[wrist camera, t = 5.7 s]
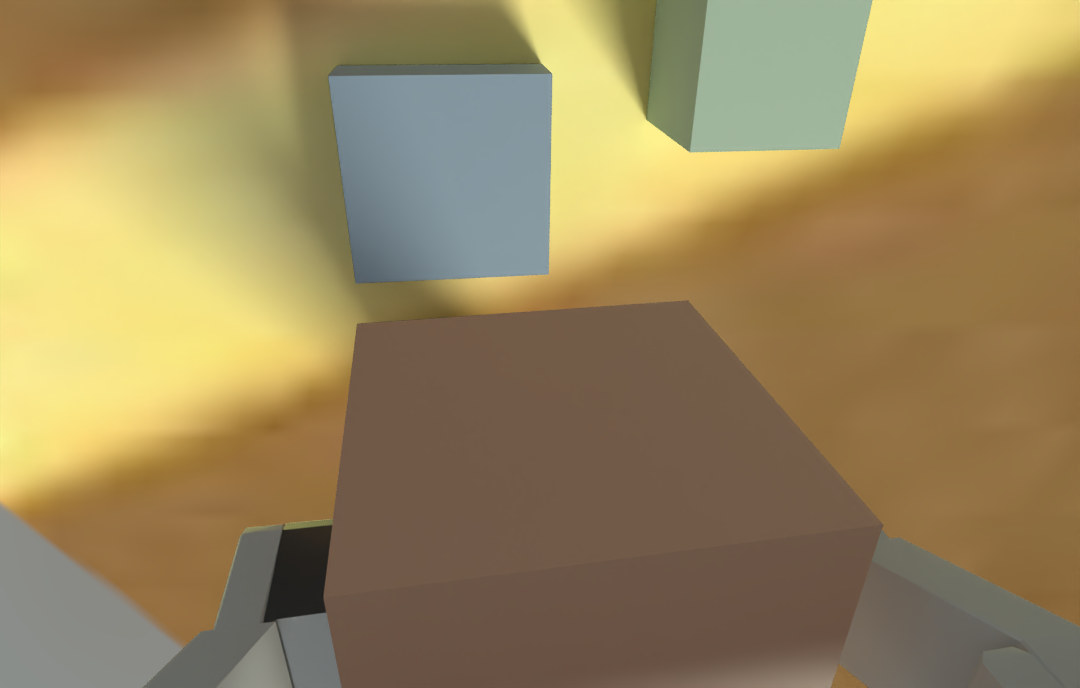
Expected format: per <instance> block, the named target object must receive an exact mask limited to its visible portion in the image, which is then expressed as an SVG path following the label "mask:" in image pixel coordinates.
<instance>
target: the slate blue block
mask: <svg viewBox="0 0 1080 688" xmlns="http://www.w3.org/2000/svg"><path fill="white" fill-rule="evenodd" d="M328 78H329V86H330V93H331V101H332V108H333V116H334V123H335V131H336V139H337V146H338V154H339V161H340V169H341V176H342V184H343V192H344V199H345V207H346V214H347V222H348V229H349V237H350V245H351V252H352V260H353V267H354V275H355V282H356V283H377V282H398V281H419V280H440V279H461V278H482V277H503V276H524V275H545V274H549V227H550V171H551V115H552V73H551V72H550V71H549V70H548V69H547V68H546V67H545V66H543V65H542V64H447V65H337V66H336V67H335V69H334V70H333V71H332V72H331V73H330V75H329V76H328Z"/></svg>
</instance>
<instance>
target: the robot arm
mask: <svg viewBox="0 0 1080 688" xmlns="http://www.w3.org/2000/svg"><path fill="white" fill-rule="evenodd" d="M332 524H333V519H329V520H318V521H307V522H296V523H287V524H286V525H271V526H260V527H249V528H246V529H245V530H244V532H243V533H242V534H241V536H240V538H239V541H238V545H237V548H236V552H235V555H234V559H233V562H232V566H231V569H230V573H229V576H228V580H227V583H226V587H225V590H224V594H223V597H222V601H221V604H220V608H219V611H218V615H217V618H216V622H215V625H214V629H213V630H208V631H202V632H200V633H199V634H197V635H196V636H195V637H194V638H193V639H192V640H191V641H190V642H189V643H188V644H187V645H186V646H185V647H184V648H183V649H182V650H181V651H180V652H179V653H178V654H177V655H176V656H175V657H174V658H173V659H172V660H171V661H170V662H169V663H167V665H165V667H163V668H162V669H161V670H160V671H159V672H158V673H157V674H156V675H155V676H154V677H153V678H152V679H151V680H150V681H149V682H148V683H147V684H146V685H145V686H144V687H143V688H341V683H340V678H339V673H338V668H337V663H336V658H335V653H334V648H333V643H332V638H331V633H330V628H329V623H328V618H327V613H326V608H325V603H324V598H323V596H324V588H325V580H326V572H327V564H328V556H329V548H330V540H331V532H332ZM838 664H840V665H841V666H842V667H844V668H845V669H846V670H847V671H849V672H850V673H851V674H852V675H854V676H855V677H856V678H857V679H859V680H860V681H861V682H863V683H864V684H865V685H866V686H868V687H869V688H1080V627H1079V626H1077V625H1075V624H1073V623H1071V622H1069V621H1067V620H1065V619H1063V618H1061V617H1059V616H1057V615H1055V614H1053V613H1051V612H1049V611H1047V610H1045V609H1043V608H1041V607H1039V606H1037V605H1035V604H1033V603H1031V602H1029V601H1027V600H1025V599H1023V598H1021V597H1019V596H1017V595H1015V594H1013V593H1011V592H1009V591H1007V590H1005V589H1003V588H1001V587H999V586H997V585H995V584H993V583H991V582H989V581H987V580H985V579H982V578H980V577H978V576H976V575H974V574H972V573H970V572H968V571H966V570H964V569H962V568H960V567H958V566H956V565H954V564H952V563H950V562H948V561H946V560H944V559H942V558H940V557H938V556H936V555H934V554H932V553H930V552H928V551H926V550H924V549H922V548H920V547H918V546H916V545H914V544H912V543H910V542H908V541H906V540H904V539H902V538H900V537H899V538H891V539H890V538H889V537H888V536H887V535H886V534H885V533H884V532H883V530H881V533H880V536H879V539H878V542H877V546H876V549H875V552H874V555H873V558H872V561H871V564H870V567H869V570H868V573H867V577H866V580H865V583H864V586H863V589H862V592H861V595H860V598H859V601H858V604H857V607H856V611H855V614H854V617H853V620H852V623H851V626H850V629H849V632H848V635H847V638H846V641H845V645H844V648H843V651H842V654H841V657H840V660H839V663H838Z"/></svg>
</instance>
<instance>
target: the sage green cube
mask: <svg viewBox="0 0 1080 688" xmlns="http://www.w3.org/2000/svg"><path fill="white" fill-rule="evenodd" d="M871 4H872V0H657V3H656V15H655V27H654V38H653V50H652V62H651V73H650V85H649V97H648V109H647V121H649V122H650V123H651V124H653V125H654V126H655V127H657V128H658V129H659V130H661V131H662V132H663V133H665V134H666V135H667V136H669V137H670V138H671V139H673V140H674V141H675V142H677V143H678V144H679V145H681V146H682V147H683V148H685V149H686V150H687V151H689V152H724V151H766V150H808V149H839V148H840V144H841V139H842V135H843V130H844V126H845V121H846V117H847V112H848V108H849V103H850V99H851V94H852V90H853V85H854V81H855V76H856V72H857V67H858V63H859V58H860V54H861V49H862V45H863V40H864V36H865V31H866V27H867V22H868V18H869V13H870V9H871Z"/></svg>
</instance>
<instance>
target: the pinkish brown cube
mask: <svg viewBox="0 0 1080 688" xmlns="http://www.w3.org/2000/svg"><path fill="white" fill-rule="evenodd" d="M882 527H883V524H882V523H881V522H880V520H879V519H878V518H877V517H876V516H875V515H874V514H873V512H872V511H871V510H870V509H869V508H868V507H867V505H866V504H865V503H864V502H863V501H862V500H861V499H860V497H859V496H858V495H857V494H856V493H855V492H854V491H853V489H852V488H851V487H850V486H849V485H848V484H847V483H846V481H845V480H844V479H843V478H842V477H841V476H840V475H839V473H838V472H837V471H836V470H835V469H834V468H833V466H832V465H831V464H830V463H829V462H828V461H827V460H826V458H825V457H824V456H823V455H822V454H821V453H820V452H819V450H818V449H817V448H816V447H815V446H814V445H813V444H812V442H811V441H810V440H809V439H808V438H807V437H806V435H805V434H804V433H803V432H802V431H801V430H800V429H799V427H798V426H797V425H796V424H795V423H794V422H793V421H792V419H791V418H790V417H789V416H788V415H787V414H786V413H785V411H784V410H783V409H782V408H781V407H780V406H779V405H778V403H777V402H776V401H775V400H774V399H773V398H772V396H771V395H770V394H769V393H768V392H767V391H766V390H765V388H764V387H763V386H762V385H761V384H760V383H759V382H758V380H757V379H756V378H755V377H754V376H753V375H752V374H751V372H750V371H749V370H748V369H747V368H746V367H745V365H744V364H743V363H742V362H741V361H740V360H739V359H738V357H737V356H736V355H735V354H734V353H733V352H732V351H731V349H730V348H729V347H728V346H727V345H726V344H725V343H724V341H723V340H722V339H721V338H720V337H719V336H718V334H717V333H716V332H715V331H714V330H713V329H712V328H711V326H710V325H709V324H708V323H707V322H706V321H705V320H704V318H703V317H702V316H701V315H700V314H699V313H698V312H697V310H696V309H695V308H694V307H693V306H692V305H691V304H690V302H689V301H674V302H659V303H645V304H631V305H617V306H602V307H588V308H574V309H560V310H545V311H531V312H517V313H502V314H488V315H474V316H460V317H445V318H431V319H417V320H403V321H388V322H374V323H360V324H357V330H356V338H355V346H354V354H353V362H352V370H351V378H350V386H349V394H348V402H347V411H346V419H345V427H344V435H343V443H342V451H341V459H340V467H339V475H338V483H337V491H336V499H335V508H334V516H333V524H332V532H331V540H330V548H329V556H328V564H327V572H326V580H325V588H324V596H323V598H324V603H325V608H326V613H327V618H328V623H329V628H330V633H331V638H332V643H333V648H334V653H335V658H336V663H337V668H338V673H339V678H340V683H341V688H831V685H832V682H833V679H834V675H835V672H836V669H837V666H838V663H839V660H840V657H841V654H842V651H843V648H844V645H845V641H846V638H847V635H848V632H849V629H850V626H851V623H852V620H853V617H854V614H855V611H856V607H857V604H858V601H859V598H860V595H861V592H862V589H863V586H864V583H865V580H866V577H867V573H868V570H869V567H870V564H871V561H872V558H873V555H874V552H875V549H876V546H877V542H878V539H879V536H880V533H881V530H882Z"/></svg>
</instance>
